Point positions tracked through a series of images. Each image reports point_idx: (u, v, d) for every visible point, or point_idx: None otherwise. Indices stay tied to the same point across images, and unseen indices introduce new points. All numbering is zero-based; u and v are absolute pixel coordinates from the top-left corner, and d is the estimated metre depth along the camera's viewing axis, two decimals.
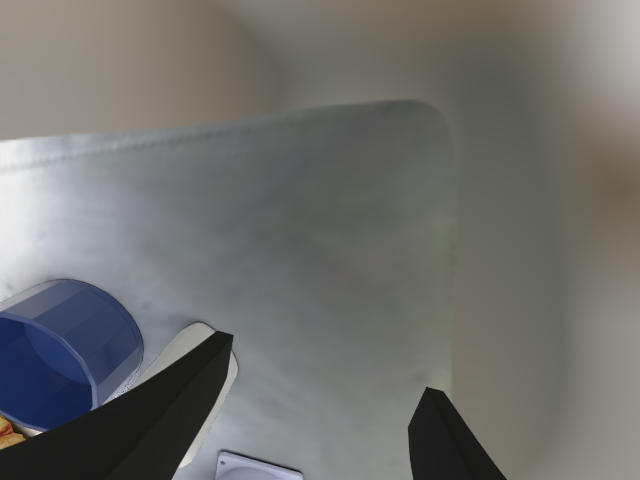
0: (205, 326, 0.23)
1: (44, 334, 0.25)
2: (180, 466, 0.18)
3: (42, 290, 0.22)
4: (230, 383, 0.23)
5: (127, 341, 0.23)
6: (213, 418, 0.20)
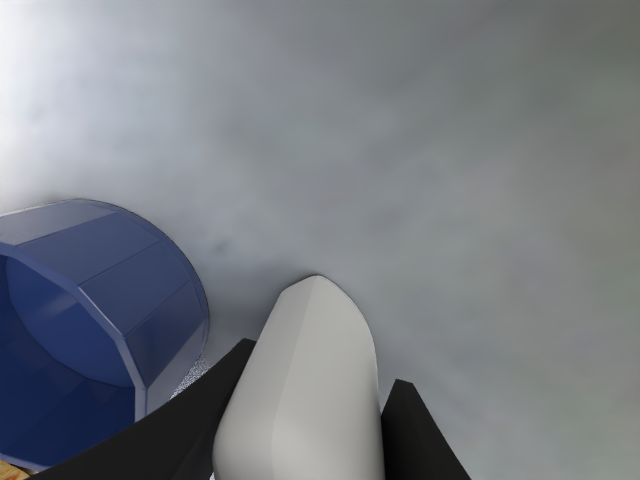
0: (330, 281, 0.13)
1: (42, 300, 0.15)
2: None
3: (38, 207, 0.12)
4: None
5: (190, 308, 0.13)
6: None
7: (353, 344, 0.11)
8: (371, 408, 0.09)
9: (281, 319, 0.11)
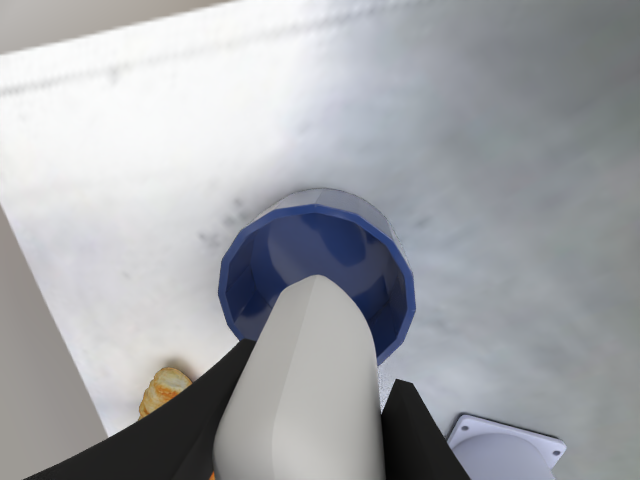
0: (330, 280, 0.13)
1: (276, 263, 0.20)
2: None
3: (319, 193, 0.17)
4: None
5: None
6: None
7: (354, 343, 0.11)
8: (371, 407, 0.09)
9: (281, 318, 0.11)
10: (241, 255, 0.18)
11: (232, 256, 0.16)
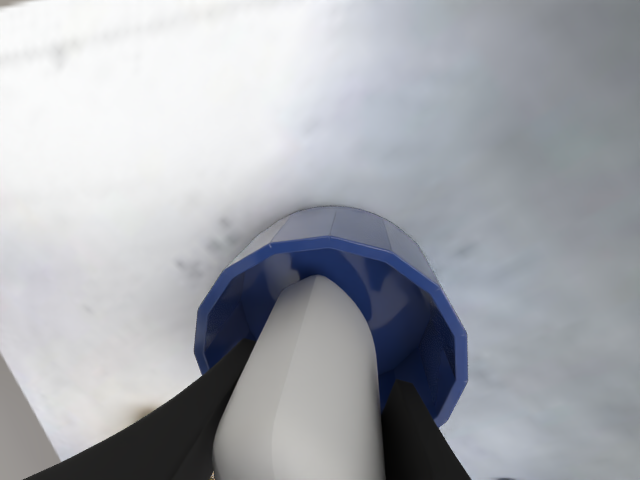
0: (330, 280, 0.13)
1: (274, 300, 0.16)
2: None
3: (332, 214, 0.13)
4: None
5: None
6: None
7: (354, 343, 0.11)
8: (371, 407, 0.09)
9: (281, 318, 0.11)
10: (227, 296, 0.14)
11: (212, 304, 0.11)
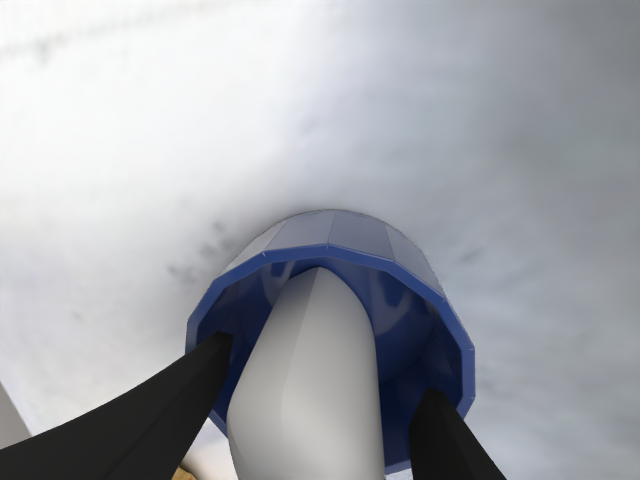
0: (331, 272, 0.14)
1: (270, 307, 0.15)
2: None
3: (330, 219, 0.12)
4: None
5: None
6: None
7: (354, 329, 0.12)
8: (370, 387, 0.10)
9: (286, 306, 0.11)
10: (220, 305, 0.13)
11: (203, 316, 0.11)
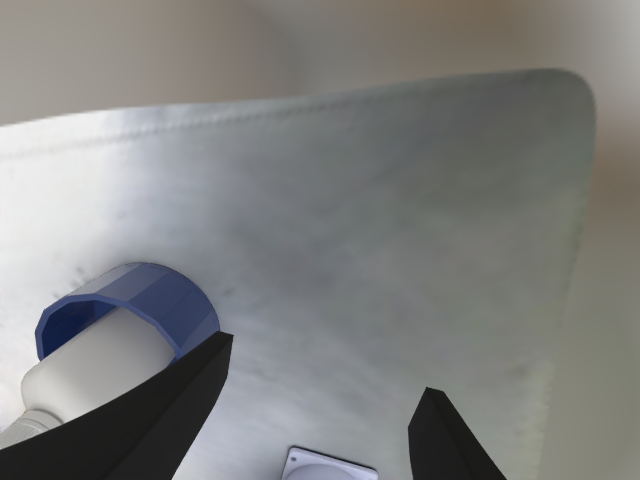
0: None
1: None
2: None
3: (125, 273, 0.21)
4: (167, 360, 0.22)
5: (209, 329, 0.22)
6: None
7: (134, 337, 0.20)
8: (127, 368, 0.19)
9: (93, 323, 0.20)
10: (67, 321, 0.22)
11: (42, 329, 0.19)
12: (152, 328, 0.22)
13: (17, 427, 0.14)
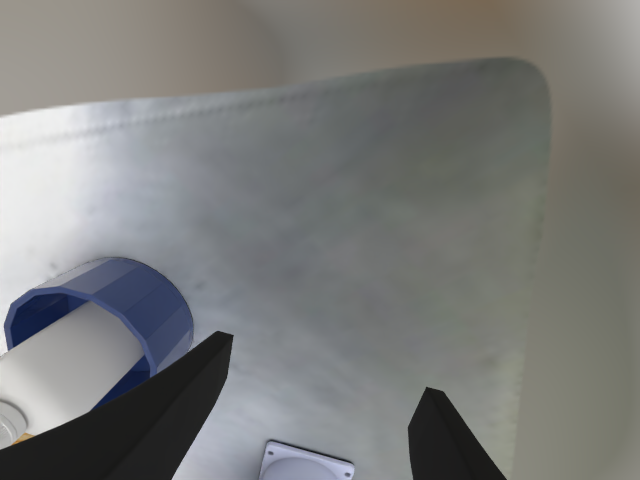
0: None
1: None
2: None
3: (94, 267, 0.21)
4: (139, 354, 0.22)
5: (180, 322, 0.22)
6: (109, 386, 0.20)
7: (104, 330, 0.20)
8: (94, 361, 0.19)
9: (62, 317, 0.20)
10: (39, 315, 0.22)
11: (10, 322, 0.20)
12: None
13: None
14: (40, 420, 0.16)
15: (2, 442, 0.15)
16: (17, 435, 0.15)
